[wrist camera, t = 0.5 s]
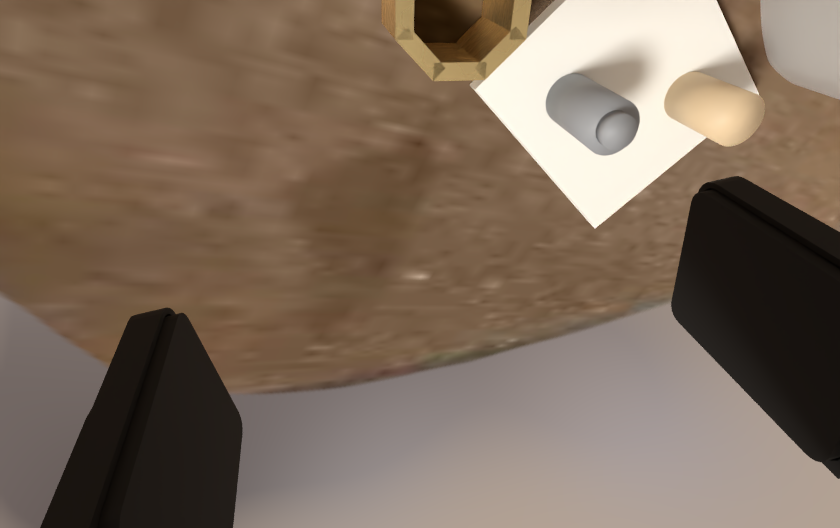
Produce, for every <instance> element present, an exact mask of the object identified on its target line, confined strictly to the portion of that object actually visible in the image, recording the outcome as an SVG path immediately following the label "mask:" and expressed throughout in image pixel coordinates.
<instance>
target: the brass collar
mask: <svg viewBox="0 0 840 528" xmlns="http://www.w3.org/2000/svg"><path fill="white" fill-rule="evenodd" d="M531 1H532V0H483V6H482V16H481V17H480V18H479V19H478V20H477V21H476V22H475V23H474V24H473V25H472V26H471V27H470V28H469V30H468V31H467V32H466V33H465V34H464V35H463V36H462V37H461V38H460V39H459V40H458V41H457V42H456V43H423V42H422V40H421V39H420V38H419V37H418V36H417V35H416V34H415V32H414V0H382V24H383V25H384V26H385V27H386V29H387V30H388V31H389V32H390V34H391V35H392V36H393V37H394V39H395V40H396V41H397V42H398V43H399V44H400V45H401V46H402V48H403V49H404V50H405V51H406V52H407V53H408V54H409V55H410V56H411V57H412V58H413V60H414V61H415V62H416V63H417V64H418V65H419V66H420V67H421V68H422V69H423V70H424V72H425V73H426V74H427V75H428V76H429V77H430V78H431V79H432V80H433V81H460V80H486V79H487V78H488V77H489V76H490V75H491V74H492V73H493V72H494V71H495V70H496V69H497V68H498V67H499V66H500V65H501V64H502V63H503V62H504V61H505V60H506V59H507V58H508V57H509V56H510V55H511V54H512V53H513V52H514V51H515V50H516V49H517V48H518V47H519V46H520V45H521V44H522V43H523V42H524V41H525V40H526V37H527V30H528V23H529V16H530V9H531Z"/></svg>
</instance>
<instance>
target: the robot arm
mask: <svg viewBox="0 0 840 528" xmlns="http://www.w3.org/2000/svg"><path fill="white" fill-rule="evenodd" d="M671 307H672V312H673V315H674V317H675V318H676V320H677V321H678V322H679V323H680V324H681V325H682V326H683V327H684V328H685V329H686V330H687V332H688V333H689V334H690V335H691V336H692V337H693V338H694V339H695V340H696V341H697V342H698V343H699V344H700V345H701V346H702V347H703V348H704V349H705V350H706V351H707V352H708V353H709V354H710V355H711V356H712V357H713V358H714V359H715V361H716V362H717V363H718V364H719V365H720V366H722V368H723V369H724V370H725V371H726V372H727V373H728V374H729V375H730V376H731V377H732V378H733V379H734V380H735V381H736V382H737V383H738V384H739V385H740V386H741V387H742V388H743V389H744V391H745V392H746V393H747V394H748V395H749V396H750V397H751V398H752V399H753V400H754V401H755V402H756V403H758V405H759V406H760V407H761V408H762V409H763V410H764V411H765V412H766V413H767V414H768V415H769V416H770V417H771V418H772V419H773V420H774V421H775V423H776V424H777V425H778V426H779V427H780V428H781V429H782V430H783V431H784V432H785V433H786V434H787V435H788V436H789V437H790V438H791V439H792V440H793V441H794V442H795V443H796V444H797V445H798V446H799V447H800V448H801V449H802V450H803V452H804V453H806V454H807V455H808V456H809V457H810V458H812V459H813V460H815V461H818V462H822V463H823V464H824V465H825V466H826V467H827V468H828V469H829V470H830V471H831V472H832V473H833V474H834V475H835V476H836V477H837V478H838V479H839V478H840V232H838V231H837V230H835V229H833V228H831V227H830V226H828V225H826V224H824V223H822V222H821V221H819V220H817V219H815V218H814V217H812V216H810V215H808V214H807V213H805V212H803V211H801V210H799V209H798V208H796V207H794V206H792V205H791V204H789V203H787V202H785V201H783V200H782V199H780V198H778V197H776V196H775V195H773V194H771V193H769V192H768V191H766V190H764V189H762V188H760V187H759V186H757V185H755V184H753V183H752V182H750V181H748V180H746V179H745V178H742V177H739V176H734V177H729V178H725V179H721V180H716V181H712V182H708V183H705V184H704V185H702V187H701V188H700V189H699V192H698V193H697V194H695V195H694V197H693V199H692V202H691V206H690V211H689V216H688V222H687V227H686V232H685V237H684V242H683V247H682V252H681V257H680V262H679V267H678V272H677V277H676V282H675V287H674V292H673V297H672V302H671ZM241 442H242V421H241V417H240V414H239V412H238V410H237V408H236V406H235V404H234V403H233V401H232V399H231V397H230V395H229V393H228V391H227V389H226V388H225V386H224V384H223V382H222V380H221V378H220V376H219V375H218V373H217V371H216V369H215V367H214V365H213V363H212V362H211V360H210V358H209V356H208V354H207V352H206V350H205V349H204V347H203V345H202V343H201V341H200V339H199V337H198V335H197V334H196V332H195V330H194V328H193V326H192V324H191V322H190V321H189V319H188V317H187V316H186V315H185V314H184V313H179V314H175V312H174V311H173V310H172V309H170V308H163V309H159V310H155V311H150V312H146V313H142V314H137V315H134V316H132V317H131V318H130V319H129V321H128V323H127V325H126V328H125V330H124V333H123V335H122V337H121V340H120V342H119V345H118V347H117V350H116V352H115V354H114V357H113V359H112V362H111V364H110V366H109V369H108V371H107V374H106V376H105V378H104V381H103V383H102V386H101V388H100V390H99V393H98V395H97V398H96V400H95V403H94V405H93V407H92V409H91V411H90V413H89V414H88V416H87V418H86V420H85V422H84V425H83V427H82V429H81V432H80V434H79V437H78V439H77V441H76V444H75V446H74V449H73V451H72V453H71V456H70V458H69V461H68V463H67V465H66V468H65V470H64V472H63V475H62V477H61V480H60V482H59V484H58V487H57V489H56V491H55V494H54V496H53V499H52V501H51V503H50V506H49V508H48V510H47V513H46V515H45V518H44V520H43V523H42V525H41V527H40V528H233V522H234V512H235V502H236V492H237V482H238V472H239V461H240V452H241Z"/></svg>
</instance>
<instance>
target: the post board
mask: <svg viewBox="0 0 840 528" xmlns="http://www.w3.org/2000/svg"><path fill="white" fill-rule="evenodd" d="M470 86H471V87H472V88H473V89H474V90H475V92H476V93H477V94H478V95H479V96H480V97H481V98H482V100H483V101H484V102H485V103H486V104H487V105H488V107H489V108H490V109H491V110H492V111H493V112H494V113H495V115H496V116H497V117H498V118H499V119H500V120H501V122H502V123H503V124H504V125H505V126H506V127H507V128H508V130H509V131H510V132H511V133H512V134H513V135H514V137H515V138H516V139H517V140H518V141H519V142H520V143H521V145H522V146H523V147H524V148H525V149H526V150H527V152H528V153H529V154H530V155H531V156H532V157H533V158H534V160H535V161H536V162H537V163H538V164H539V165H540V167H541V168H542V169H543V170H544V171H545V172H546V173H547V175H548V176H549V177H550V178H551V179H552V180H553V182H554V183H555V184H556V185H557V186H558V187H559V188H560V190H561V191H562V192H563V193H564V194H565V195H566V197H567V198H568V199H569V200H570V201H571V202H572V203H573V205H574V206H575V207H576V208H577V209H578V210H579V212H580V213H581V214H582V215H583V216H584V217H585V218H586V220H587V221H588V222H589V223H590V224H591V225H592V226H593V227H594V228H596V227H597V226H599V225H600V224H601V223H602V222H604V221H605V220H606V219H607V218H608V217H610V216H611V215H612V214H613V213H615V212H616V211H617V210H618V209H619V208H621V207H622V206H623V205H624V204H626V203H627V202H628V201H629V200H630V199H632V198H633V197H634V196H635V195H637V194H638V193H639V192H640V191H641V190H643V189H644V188H645V187H646V186H648V185H649V184H650V183H651V182H652V181H654V180H655V179H656V178H657V177H659V176H660V175H661V174H662V173H663V172H665V171H666V170H667V169H668V168H670V167H671V166H672V165H673V164H675V163H676V162H677V161H678V160H679V159H681V158H682V157H683V156H684V155H686V154H687V153H688V152H689V151H690V150H692V149H693V148H694V147H695V146H697V145H698V144H699V143H700V142H701V141H703V140H704V139H705V138H706V137H707V138H709V139H711V140H713V141H715V142H717V143H718V144H720V145H723V146H734V145H737V144H740V143H742V142H743V141H745V140H746V139H748V138H749V137H750V136H751V135H752V134H753V133H754V132H755V131H756V130H757V128H758V127H759V125H760V124H761V122H762V120H763V117H764V113H765V103H764V101H763V99H762V97H761V96H759V93H758V91H757V89H756V87H755V84H754V82H753V80H752V78H751V75H750V73H749V71H748V69H747V67H746V64H745V62H744V60H743V58H742V56H741V53H740V51H739V49H738V47H737V44H736V42H735V40H734V38H733V36H732V33H731V31H730V29H729V27H728V25H727V22H726V20H725V18H724V16H723V14H722V11H721V9H720V7H719V5H718V2H717V0H554V1H553V2H552V3H551V4H550V5H549V6H548V7H547V8H546V9H545V10H544V11H543V12H542V13H541V14H540V15H539V16H538V17H537V18H536V19H535V20H534V21H533V22H532V23H531V24H530V25H529V26H528V30H527V37H526V40H525V41H524V42H523V43H522V44H521V45H520V46H519V47H518V48H517V49H516V50H515V51H514V52H513V53H512V54H511V55H510V56H509V57H508V58H507V59H506V60H505V61H504V62H503V63H502V64H501V65H500V66H499V67H498V68H497V69H496V70H495V71H494V72H493V73H492V74H491V75H490V76H489V77H488V78H487V79H486V80H474V81H473V82H472V83H471V84H470Z"/></svg>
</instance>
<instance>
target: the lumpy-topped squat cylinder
mask: <svg viewBox="0 0 840 528" xmlns="http://www.w3.org/2000/svg"><path fill="white" fill-rule="evenodd" d="M761 24H762V33H763V40H764V46H765V51H766V55H767V58H768V61H769V63H770V64H771V66H772V67H773V68H774V69H775V70H776V71H777V72H778V73H779V74H780V75H781V76H783V77H784V78H785V79H786V80H788V81H789V82H791V83H793V84H795V85H798V86H801V87H804V88H807V89H810V90H812V91H815V92H818V93H821V94H824V95H827V96H830V97H833V98H836V99H839V100H840V0H761Z"/></svg>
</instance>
